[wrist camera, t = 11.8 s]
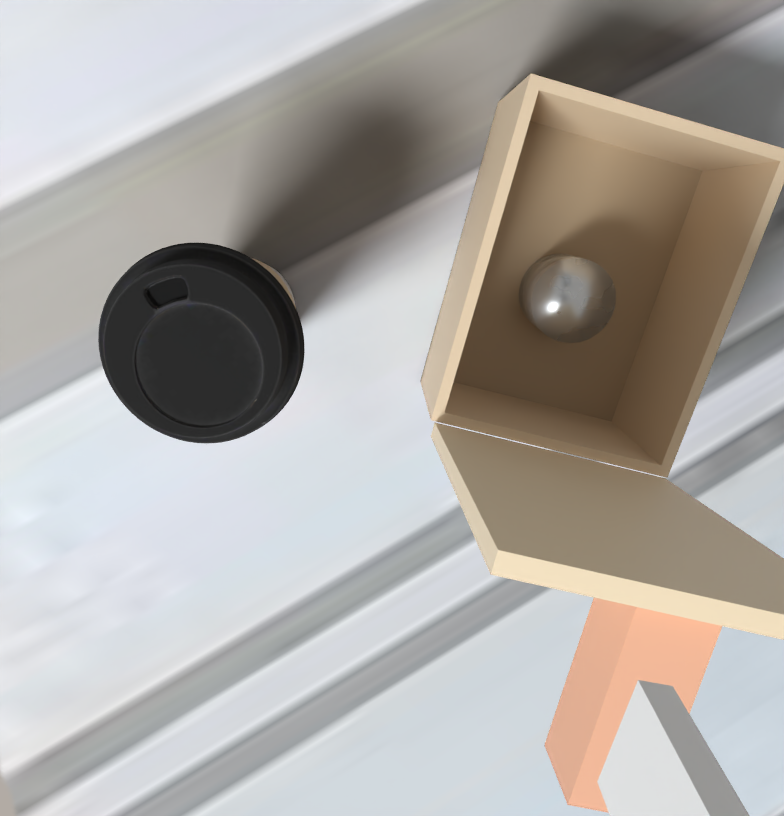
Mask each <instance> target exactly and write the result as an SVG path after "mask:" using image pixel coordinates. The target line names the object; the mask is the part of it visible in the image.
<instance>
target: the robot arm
mask: <svg viewBox="0 0 784 816" xmlns="http://www.w3.org/2000/svg"><path fill="white" fill-rule="evenodd" d="M597 782H598V785H599V788H600V790H601V793H602V796H603V799H604V801H605V804H606V807H607V809H608V812H609V815H610V816H749V814H748V812H747V811H746V809H745V807H744V806H743V804H742V802H741V801H740V799H739V797H738V796H737V794H736V792H735V790H734V789H733V787H732V785H731V784H730V782H729V780H728V779H727V777H726V775H725V774H724V772H723V770H722V768H721V767H720V765H719V763H718V762H717V760H716V758H715V757H714V755H713V753H712V752H711V750H710V748H709V747H708V745H707V743H706V741H705V740H704V738H703V736H702V735H701V733H700V731H699V730H698V728H697V726H696V725H695V723H694V721H693V719H692V718H691V716H690V714H689V713H688V711H687V709H686V708H685V706H684V704H683V703H682V701H681V699H680V697H679V696H678V694H677V692H676V691H675V689H674V687H673V686H670V685H664V684H658V683H653V682H647V681H642V680H638V681H637V684H636V686H635V689H634V691H633V694H632V696H631V699H630V701H629V704H628V706H627V709H626V711H625V714H624V716H623V719H622V721H621V724H620V726H619V729H618V731H617V734H616V736H615V739H614V741H613V744H612V746H611V749H610V751H609V754H608V756H607V759H606V761H605V764H604V766H603V769H602V771H601V774H600V776H599V779H598V781H597Z"/></svg>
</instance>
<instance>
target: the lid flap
mask: <svg viewBox="0 0 784 816" xmlns="http://www.w3.org/2000/svg"><path fill="white" fill-rule="evenodd" d="M431 438H432V440H433V442H434V445H435V447H436V449H437V452H438V454H439V456H440V458H441V461H442V463H443V465H444V468H445V470H446V472H447V475H448V477H449V479H450V482H451V484H452V486H453V489H454V491H455V493H456V495H457V498H458V500H459V502H460V505H461V507H462V509H463V512H464V514H465V516H466V519H467V521H468V523H469V525H470V528H471V530H472V532H473V535H474V537H475V539H476V542H477V544H478V546H479V549H480V551H481V553H482V555H483V558H484V560H485V562H486V565H487V567H488V569H489V572H490V574H491V575H495V576H500V577H504V578H509V579H513V580H518V581H522V582H527V583H531V584H536V585H540V586H545V587H549V588H554V589H558V590H563V591H567V592H572V593H576V594H581V595H585V596H590V597H594V599H593V602H592V605H591V608H590V611H589V614H588V617H587V620H586V623H585V626H584V629H583V632H582V635H581V638H580V641H579V644H578V647H577V650H576V653H575V656H574V659H573V662H572V665H571V668H570V671H569V673H568V676H567V679H566V682H565V685H564V688H563V691H562V694H561V697H560V700H559V703H558V706H557V709H556V712H555V715H554V718H553V721H552V724H551V727H550V730H549V733H548V736H547V739H546V742H545V748H546V750H547V753H548V755H549V758H550V760H551V763H552V766H553V768H554V771H555V773H556V776H557V778H558V781H559V783H560V786H561V789H562V791H563V794H564V796H565V799H566V801H567V804H568V805H572V806H577V807H582V808H587V809H593V810H598V811H603V812H608V809H607V807H606V804H605V801H604V799H603V796H602V793H601V790H600V788H599V785H598V782H597V781H598V779H599V776H600V774H601V771H602V769H603V766H604V764H605V761H606V759H607V756H608V754H609V751H610V749H611V746H612V744H613V741H614V739H615V736H616V734H617V731H618V729H619V726H620V724H621V721H622V719H623V716H624V714H625V711H626V709H627V706H628V704H629V701H630V699H631V696H632V694H633V691H634V689H635V686H636V684H637V681H638V680H642V681H647V682H653V683H658V684H664V685H670V686H673V687H674V689H675V691H676V692H677V694H678V696H679V697H680V699H681V701H682V703H683V704H684V706H685V708H686V709H687V711H688V713H690V711H691V708H692V705H693V703H694V700H695V697H696V695H697V692H698V689H699V687H700V684H701V681H702V679H703V676H704V673H705V671H706V668H707V665H708V663H709V660H710V657H711V655H712V652H713V649H714V647H715V644H716V641H717V639H718V636H719V633H720V631H721V628H722V626H724V627H729V628H733V629H738V630H742V631H747V632H751V633H756V634H760V635H765V636H769V637H774V638H778V639H783V640H784V558H782V557H781V556H779V555H778V554H776V553H775V552H773V551H772V550H770V549H769V548H767V547H766V546H764V545H763V544H761V543H760V542H758V541H757V540H755V539H754V538H752V537H751V536H750V535H748V534H747V533H745V532H744V531H742V530H741V529H739V528H738V527H736V526H735V525H733V524H732V523H730V522H729V521H727V520H726V519H724V518H723V517H721V516H720V515H718V514H717V513H715V512H714V511H713V510H711V509H710V508H708V507H707V506H705V505H704V504H702V503H701V502H699V501H698V500H696V499H695V498H693V497H692V496H690V495H689V494H687V493H686V492H684V491H683V490H681V489H680V488H679V487H677V486H676V485H674V484H673V483H671V482H670V481H668V480H667V479H665V478H661V477H657V476H653V475H648V474H644V473H640V472H636V471H632V470H628V469H624V468H620V467H615V466H611V465H607V464H603V463H599V462H595V461H591V460H587V459H583V458H578V457H574V456H570V455H566V454H562V453H558V452H554V451H550V450H545V449H541V448H537V447H533V446H529V445H525V444H521V443H517V442H512V441H508V440H504V439H500V438H496V437H492V436H488V435H484V434H480V433H475V432H471V431H467V430H463V429H459V428H455V427H451V426H447V425H442V424H438V423H434V427H433V431H432V434H431ZM608 813H609V812H608Z"/></svg>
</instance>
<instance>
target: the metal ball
mask: <svg viewBox="0 0 784 816" xmlns="http://www.w3.org/2000/svg"><path fill="white" fill-rule="evenodd" d="M519 302H520V306H521V309H522V311H523V313H524V315H525V316H526V318H527V319H528V320H529V321H530V322H531V323H532V324H533V325H535V326H536V327H537V328H538V329H539V330H541V331H542V332H543V333H544V334H546V335H547V336H548V337H550V338H552V339H554V340H556V341H559V342H563V343H577V342H582V341H585V340H587V339H590V338H592V337H593V336H595V335H596V334H598V333H599V332H600V331H601V330H602V329H603V328H604V327H605V326H606V325H607V323H608V322H609V320H610V319H611V316H612V314H613V312H614V308H615V304H616V292H615V287H614V284H613V281H612V279H611V277H610V276H609V274H608V273H607V272H606V271H605V269H604V268H602V267H601V266H600V265H598V264H597V263H595V262H592V261H590V260H587V259H583V258H580V257H576V256H572V255H569V254H552V255H548V256H545V257H543V258H541V259H539V260H538V261H536V262H535V263H534V264H533V265H532V266H531V267H530V268H529V269H528V270H527V271H526V273H525V275H524V276H523V279H522V281H521V284H520V289H519Z"/></svg>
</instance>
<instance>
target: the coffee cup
mask: <svg viewBox="0 0 784 816" xmlns="http://www.w3.org/2000/svg"><path fill="white" fill-rule="evenodd" d="M99 351H100V357H101V361H102V365H103V369H104V371H105V374H106V377H107V379H108V381H109V383H110V385H111V387H112V388H113V390H114V392H115V393H116V395H117V396H118V398H119V399H120V400H121V402H122V403H123V404H124V405H125V406H126V408H127V409H128V410H129V411H130V412H131V413H132V414H134V415H135V416H136V417H137V418H138V419H139V420H141V421H142V422H143V423H145V424H146V425H148V426H149V427H151V428H153V429H154V430H156V431H158V432H160V433H162V434H165V435H167V436H170V437H173V438H176V439H179V440H183V441H188V442H194V443H218V442H225V441H230V440H233V439H237V438H240V437H242V436H245V435H247V434H249V433H251V432H253V431H255V430H257V429H259V428H260V427H262V426H264V425H265V424H266V423H268V422H269V421H270V420H272V419H273V418H274V417H275V416H276V415H277V414H278V413H279V412H280V411H281V410H282V409H283V408H284V406H285V405H286V404H287V402H288V401H289V399H290V398H291V396H292V395H293V393H294V391H295V389H296V387H297V384H298V382H299V379H300V375H301V372H302V367H303V362H304V336H303V330H302V326H301V322H300V318H299V316H298V313H297V310H296V306H295V299H294V296H293V293H292V291H291V289H290V287H289V285H288V283H287V282H286V280H285V279H284V278H283V276H282V275H281V274H280V273H279V272H278V271H276V270H275V269H274V268H272V267H270V266H269V265H267V264H264V263H262V262H261V261H259V260H256V259H253V258H250V257H248V256H246V255H244V254H242V253H240V252H238V251H235V250H233V249H230V248H227V247H223V246H219V245H214V244H208V243H184V244H177V245H172V246H169V247H165V248H162V249H160V250H157V251H155V252H153V253H151V254H149V255H147V256H145V257H144V258H142V259H141V260H139V261H138V262H137V263H135V264H134V265H133V266H132V267H131V268H130V269H129V270H128V271H127V272H126V273H125V274H124V275H123V276H122V277H121V278H120V279H119V281H118V282H117V283H116V284H115V286H114V287H113V289H112V291H111V292H110V294H109V296H108V298H107V300H106V303H105V305H104V308H103V311H102V314H101V319H100V324H99Z"/></svg>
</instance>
